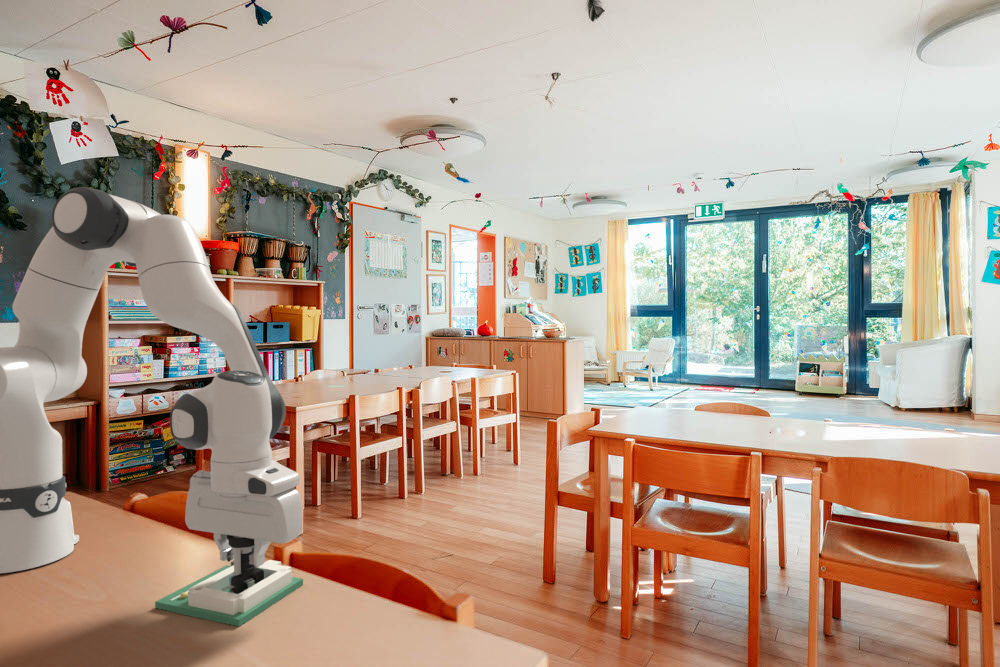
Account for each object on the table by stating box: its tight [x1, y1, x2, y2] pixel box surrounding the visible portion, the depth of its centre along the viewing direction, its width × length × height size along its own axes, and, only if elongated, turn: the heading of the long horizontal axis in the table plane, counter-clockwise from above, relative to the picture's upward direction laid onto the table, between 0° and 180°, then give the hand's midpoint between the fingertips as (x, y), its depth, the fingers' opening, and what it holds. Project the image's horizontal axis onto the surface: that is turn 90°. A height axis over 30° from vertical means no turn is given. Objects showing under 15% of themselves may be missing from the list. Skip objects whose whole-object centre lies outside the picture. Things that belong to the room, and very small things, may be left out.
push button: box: [221, 535, 264, 594], centre depth 90 cm, size 7×5×10 cm
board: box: [154, 559, 304, 627], centre depth 91 cm, size 16×14×3 cm
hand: (242, 562), depth 90 cm, fingers open, 4 cm apart
